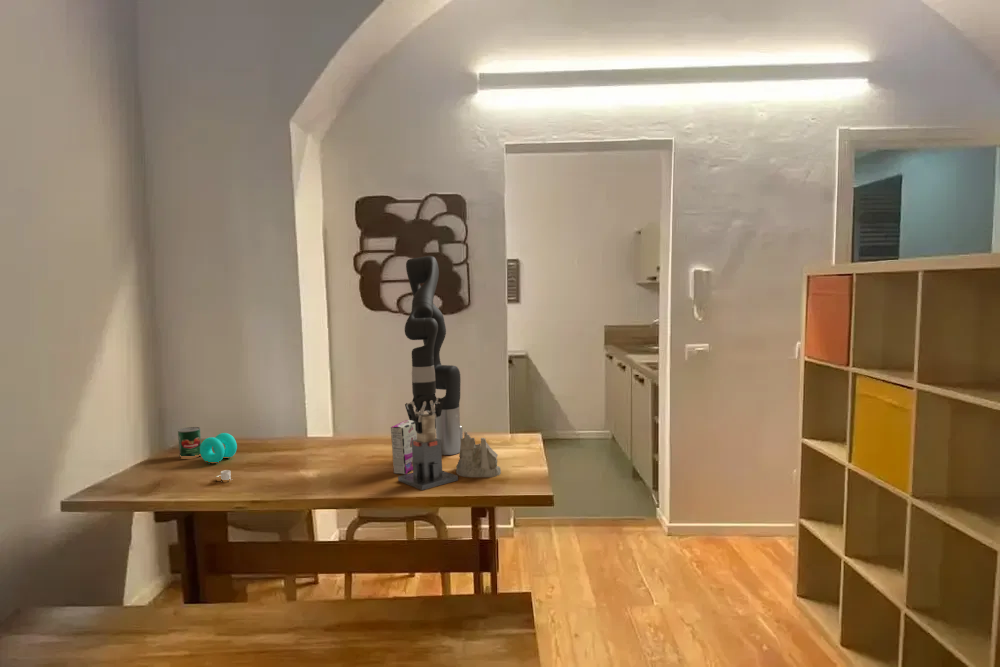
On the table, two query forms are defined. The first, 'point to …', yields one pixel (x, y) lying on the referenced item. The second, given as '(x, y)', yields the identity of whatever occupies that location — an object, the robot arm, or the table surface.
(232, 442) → the donuts
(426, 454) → the stand
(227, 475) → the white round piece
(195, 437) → the canned tomato
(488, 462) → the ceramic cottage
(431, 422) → the post
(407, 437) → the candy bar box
